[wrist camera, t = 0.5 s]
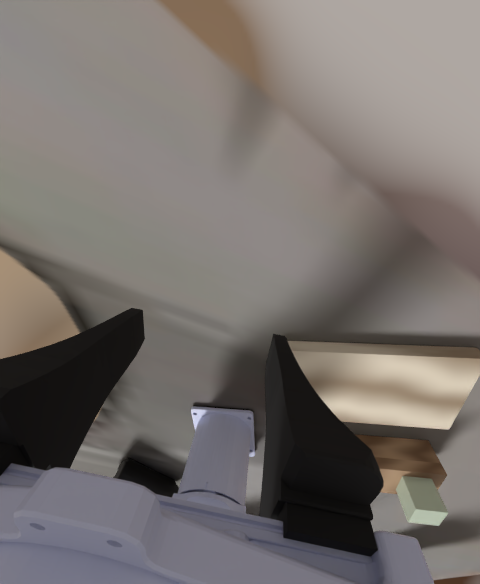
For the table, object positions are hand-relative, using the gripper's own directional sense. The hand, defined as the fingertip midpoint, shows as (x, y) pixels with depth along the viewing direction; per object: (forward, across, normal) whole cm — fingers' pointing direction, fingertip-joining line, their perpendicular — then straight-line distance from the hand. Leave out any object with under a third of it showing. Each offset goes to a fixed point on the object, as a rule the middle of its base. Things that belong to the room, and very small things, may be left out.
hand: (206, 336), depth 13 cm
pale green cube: (+6, -24, +21) cm, 33 cm away
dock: (+10, -16, +10) cm, 21 cm away
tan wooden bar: (+10, -19, +22) cm, 31 cm away
